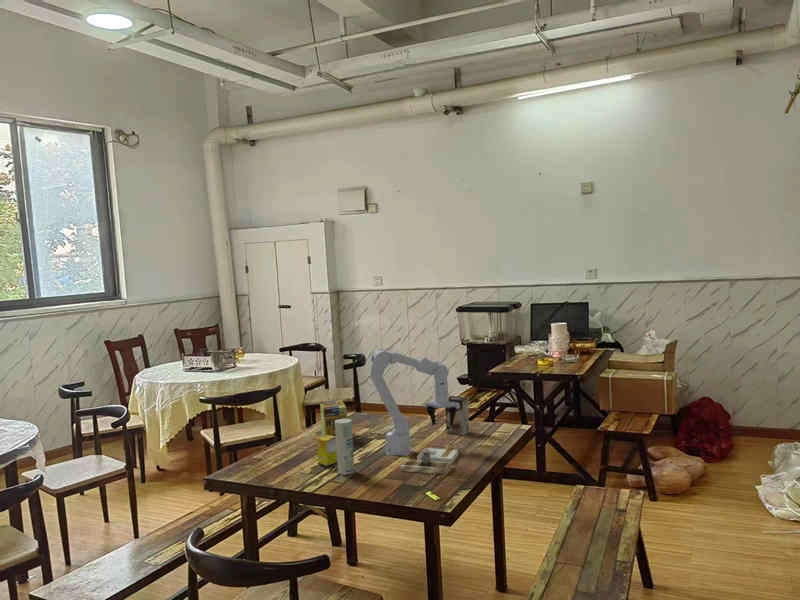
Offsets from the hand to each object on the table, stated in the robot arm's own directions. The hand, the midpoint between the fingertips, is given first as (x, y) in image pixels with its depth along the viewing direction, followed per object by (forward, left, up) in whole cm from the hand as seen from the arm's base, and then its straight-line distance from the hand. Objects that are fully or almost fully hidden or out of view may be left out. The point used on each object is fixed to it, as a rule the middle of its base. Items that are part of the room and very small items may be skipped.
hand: (442, 424), depth 257 cm
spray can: (-30, -33, -11) cm, 46 cm away
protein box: (-54, +8, -11) cm, 56 cm away
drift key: (+5, -11, -10) cm, 16 cm away
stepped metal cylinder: (0, -26, -10) cm, 27 cm away
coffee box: (0, +24, -11) cm, 26 cm away
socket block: (+1, -13, -10) cm, 17 cm away
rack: (0, -26, -10) cm, 28 cm away
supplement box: (-41, -26, -11) cm, 50 cm away
